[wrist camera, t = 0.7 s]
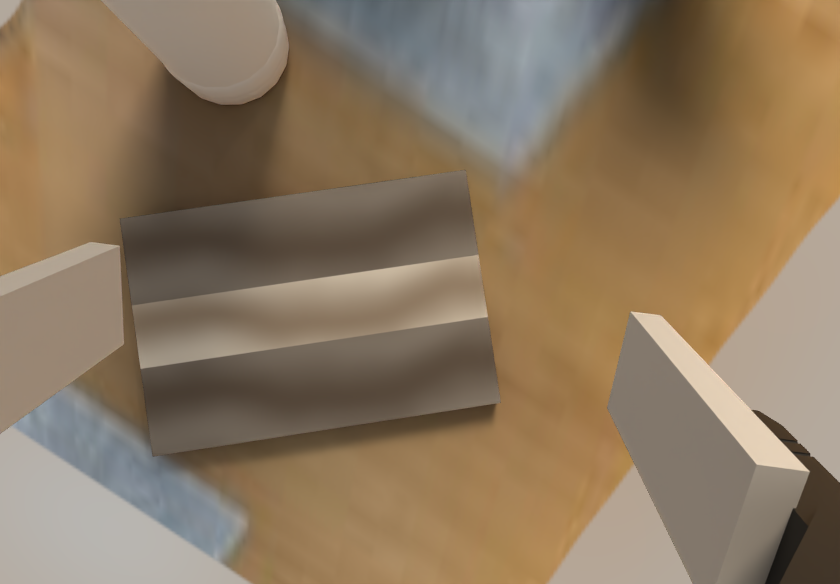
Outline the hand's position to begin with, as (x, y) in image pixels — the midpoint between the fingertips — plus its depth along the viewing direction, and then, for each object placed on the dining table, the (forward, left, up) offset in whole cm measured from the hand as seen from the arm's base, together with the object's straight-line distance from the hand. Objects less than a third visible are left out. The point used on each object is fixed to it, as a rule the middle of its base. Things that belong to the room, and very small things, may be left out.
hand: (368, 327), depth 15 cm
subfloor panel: (-1, -5, -24) cm, 24 cm away
